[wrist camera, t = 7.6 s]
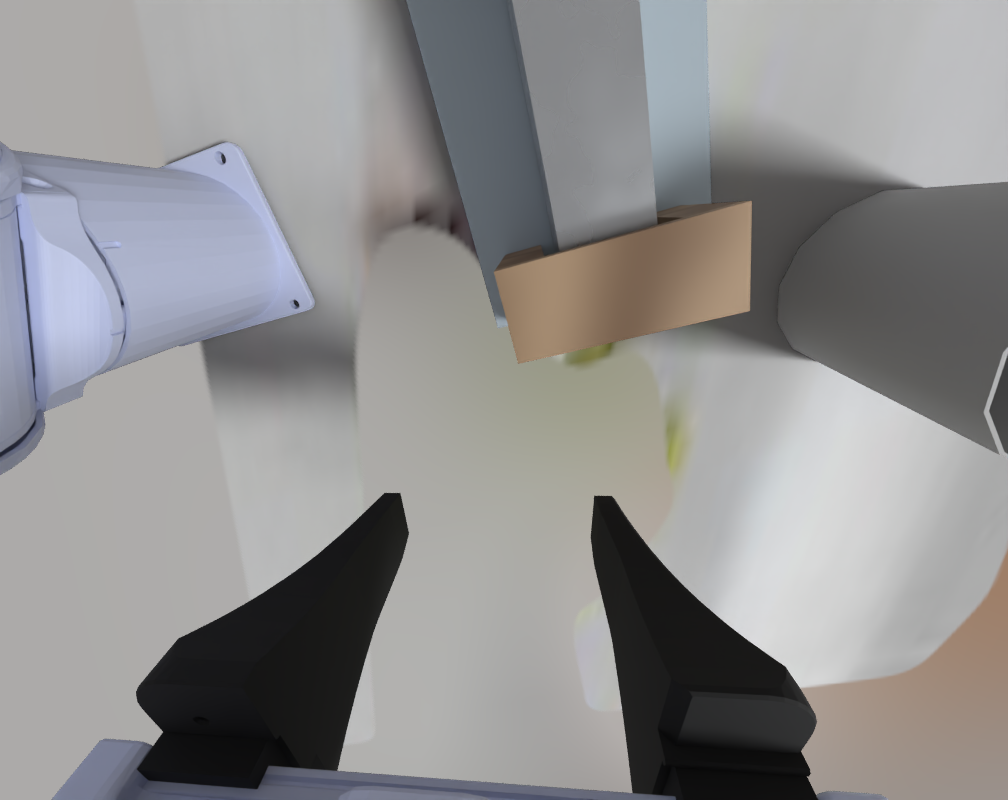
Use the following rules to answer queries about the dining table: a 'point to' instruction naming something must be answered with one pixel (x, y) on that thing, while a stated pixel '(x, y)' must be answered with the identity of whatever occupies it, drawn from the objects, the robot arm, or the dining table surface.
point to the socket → (629, 281)
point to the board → (506, 127)
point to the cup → (912, 303)
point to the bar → (587, 115)
